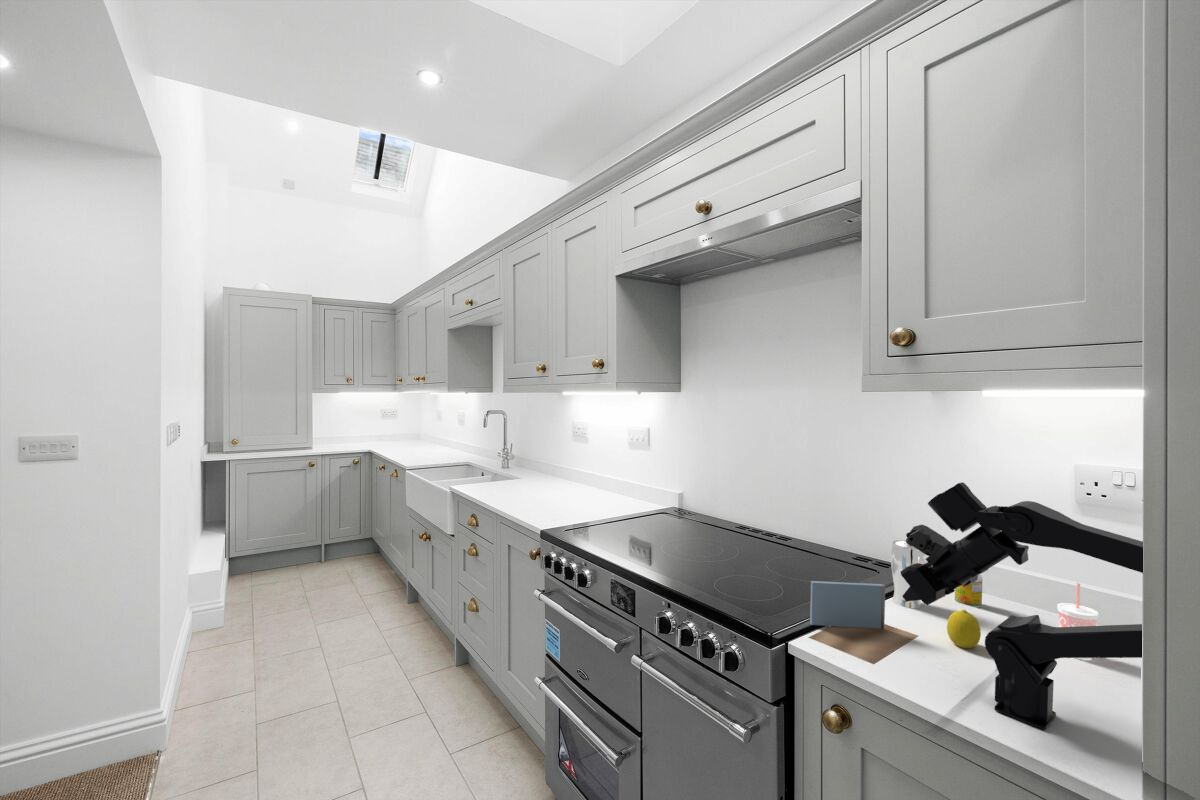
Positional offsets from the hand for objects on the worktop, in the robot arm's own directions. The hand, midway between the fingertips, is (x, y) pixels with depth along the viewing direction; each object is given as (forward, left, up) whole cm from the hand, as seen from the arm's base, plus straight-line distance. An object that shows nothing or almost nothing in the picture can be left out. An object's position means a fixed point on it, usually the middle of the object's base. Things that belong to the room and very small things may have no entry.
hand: (904, 598), depth 101 cm
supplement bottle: (+4, -43, -13) cm, 45 cm away
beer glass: (+12, -29, -13) cm, 34 cm away
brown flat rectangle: (+9, -3, -13) cm, 16 cm away
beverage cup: (-18, -32, -13) cm, 39 cm away
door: (+14, -5, -11) cm, 19 cm away
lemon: (-4, -16, -13) cm, 21 cm away
